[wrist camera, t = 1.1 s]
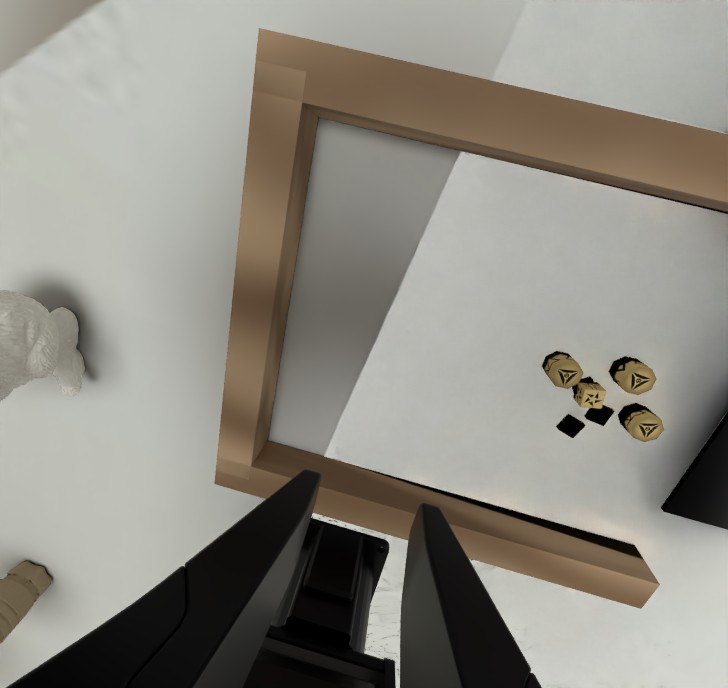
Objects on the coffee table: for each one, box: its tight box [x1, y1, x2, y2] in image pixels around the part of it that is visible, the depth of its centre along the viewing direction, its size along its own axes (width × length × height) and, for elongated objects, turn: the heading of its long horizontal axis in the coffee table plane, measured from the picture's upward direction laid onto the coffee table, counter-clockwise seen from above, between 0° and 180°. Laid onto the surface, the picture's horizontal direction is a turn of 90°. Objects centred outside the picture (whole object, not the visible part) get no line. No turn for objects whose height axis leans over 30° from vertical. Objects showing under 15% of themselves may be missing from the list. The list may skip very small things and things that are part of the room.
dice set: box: [542, 351, 664, 442], centre depth 19 cm, size 5×5×2 cm
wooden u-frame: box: [215, 28, 728, 608], centre depth 18 cm, size 22×25×2 cm
